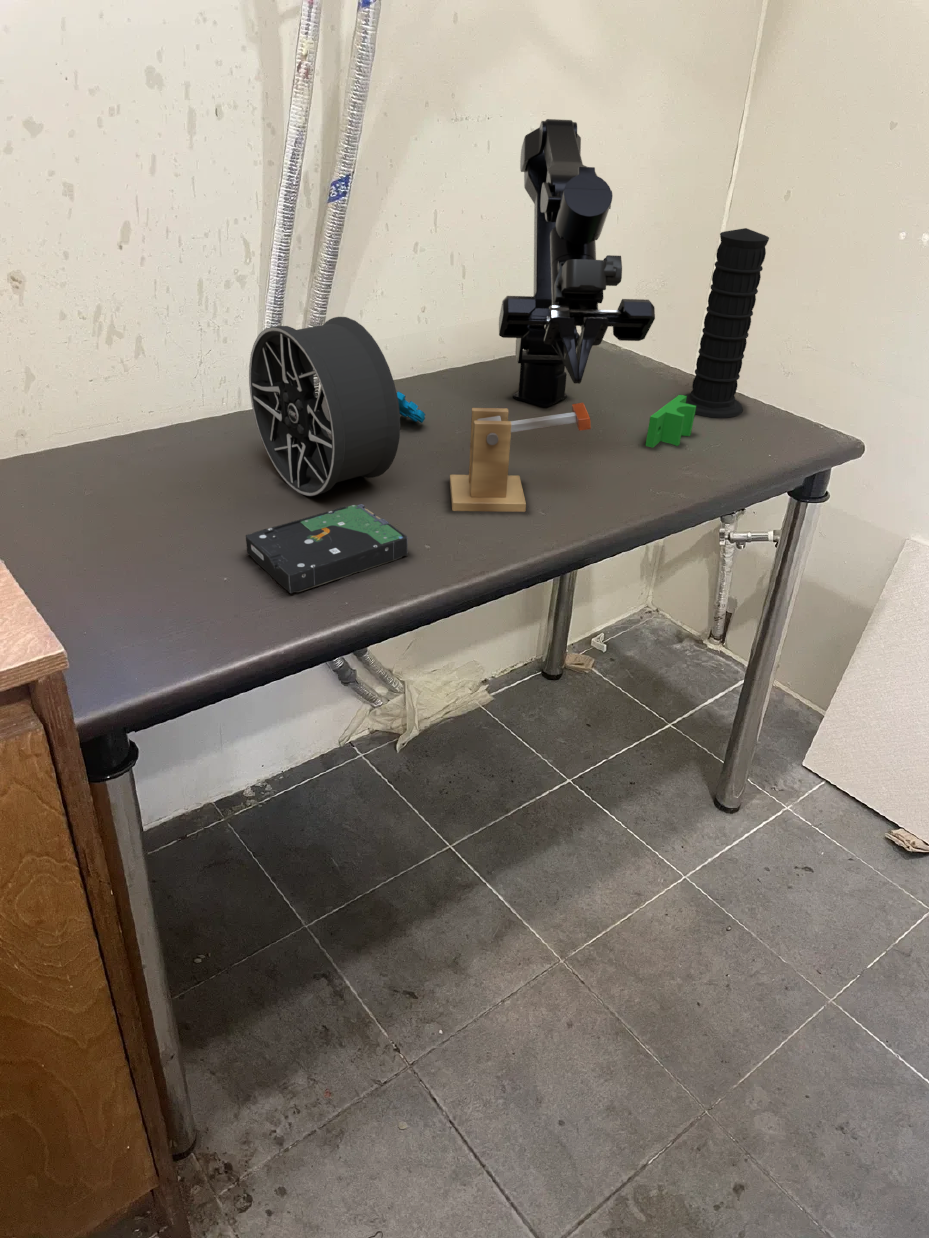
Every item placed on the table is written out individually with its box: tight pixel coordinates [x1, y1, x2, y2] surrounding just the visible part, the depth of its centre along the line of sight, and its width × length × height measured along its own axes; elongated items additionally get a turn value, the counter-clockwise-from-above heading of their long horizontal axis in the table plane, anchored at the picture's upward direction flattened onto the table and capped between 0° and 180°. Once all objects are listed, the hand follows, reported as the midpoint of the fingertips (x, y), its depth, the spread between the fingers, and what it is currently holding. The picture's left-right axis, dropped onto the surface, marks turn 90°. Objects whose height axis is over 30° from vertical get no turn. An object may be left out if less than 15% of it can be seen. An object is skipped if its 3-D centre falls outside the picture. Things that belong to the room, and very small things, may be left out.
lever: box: [478, 402, 592, 433], centre depth 110 cm, size 13×5×2 cm, turn 93°
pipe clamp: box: [645, 394, 696, 449], centre depth 132 cm, size 11×4×5 cm, turn 147°
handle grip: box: [683, 227, 770, 419], centre depth 137 cm, size 10×26×10 cm
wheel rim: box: [248, 316, 401, 497], centre depth 111 cm, size 20×9×20 cm, turn 39°
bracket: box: [449, 407, 527, 513], centre depth 112 cm, size 9×8×11 cm
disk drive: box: [245, 503, 409, 594], centre depth 101 cm, size 10×3×15 cm
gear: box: [396, 390, 426, 424], centre depth 131 cm, size 11×6×10 cm
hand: (577, 382), depth 112 cm, fingers closed
